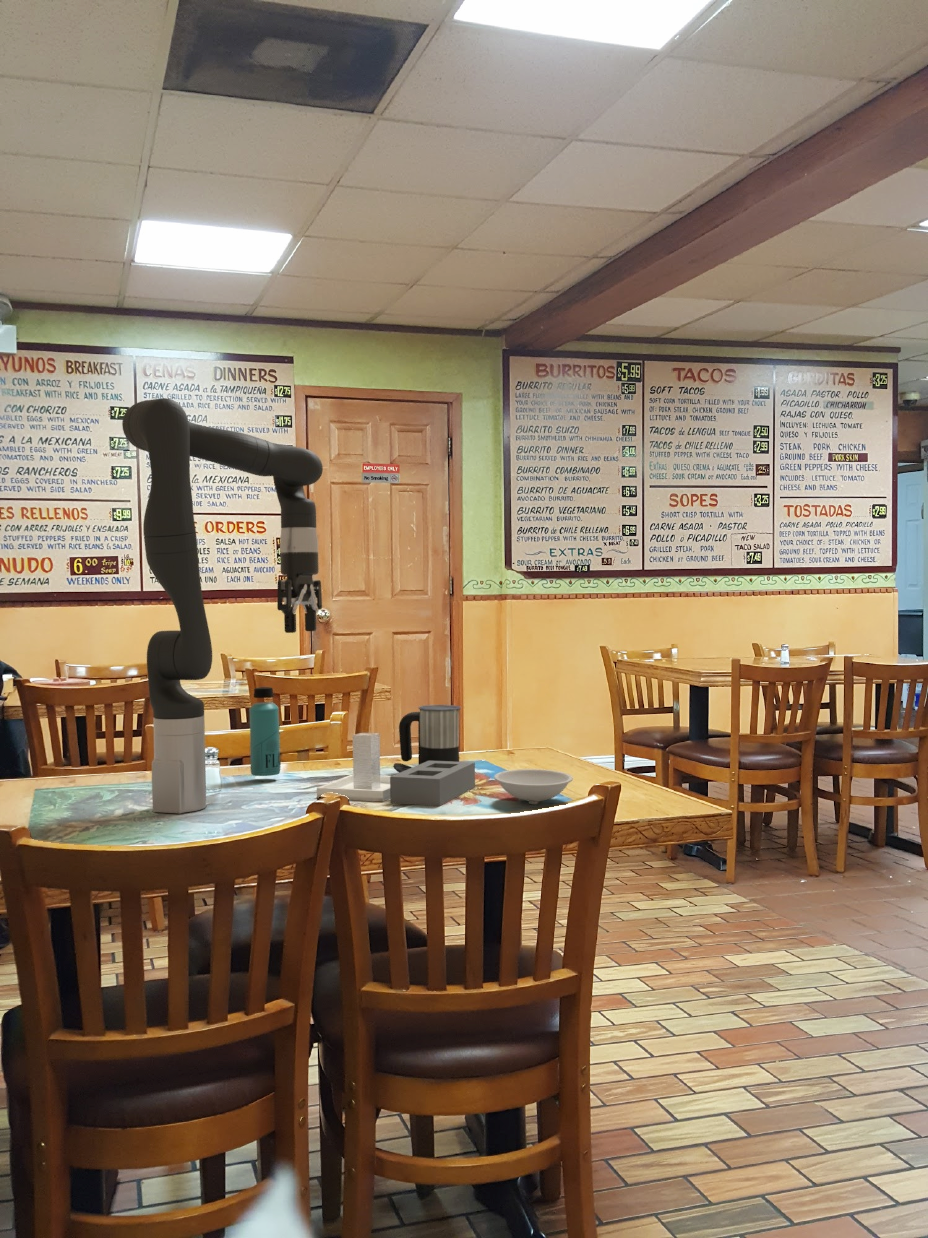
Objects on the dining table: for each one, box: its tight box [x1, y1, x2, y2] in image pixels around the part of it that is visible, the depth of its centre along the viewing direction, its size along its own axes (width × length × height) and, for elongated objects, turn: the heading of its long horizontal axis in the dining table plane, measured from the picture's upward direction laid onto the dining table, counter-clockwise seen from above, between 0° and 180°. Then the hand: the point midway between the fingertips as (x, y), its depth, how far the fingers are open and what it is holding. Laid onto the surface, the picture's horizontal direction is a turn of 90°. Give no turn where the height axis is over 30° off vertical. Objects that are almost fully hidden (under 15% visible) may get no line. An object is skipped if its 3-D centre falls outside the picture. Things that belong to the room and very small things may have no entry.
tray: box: [316, 773, 392, 802], centre depth 214 cm, size 16×14×2 cm
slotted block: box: [389, 761, 476, 807], centre depth 210 cm, size 20×10×5 cm, turn 160°
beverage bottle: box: [249, 686, 282, 777], centre depth 229 cm, size 6×7×20 cm
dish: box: [493, 768, 574, 805], centre depth 200 cm, size 18×14×5 cm
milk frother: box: [392, 704, 461, 773], centre depth 231 cm, size 14×16×15 cm
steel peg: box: [352, 732, 381, 790], centre depth 213 cm, size 4×4×11 cm
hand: (300, 631), depth 215 cm, fingers open, 8 cm apart
